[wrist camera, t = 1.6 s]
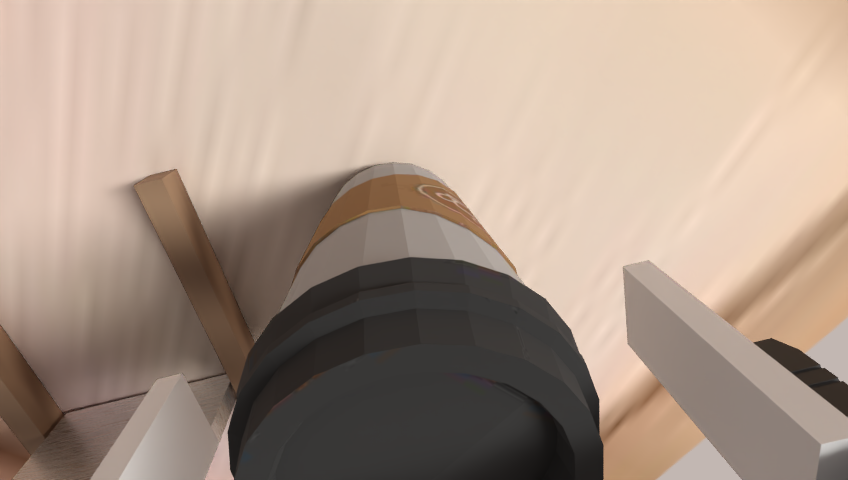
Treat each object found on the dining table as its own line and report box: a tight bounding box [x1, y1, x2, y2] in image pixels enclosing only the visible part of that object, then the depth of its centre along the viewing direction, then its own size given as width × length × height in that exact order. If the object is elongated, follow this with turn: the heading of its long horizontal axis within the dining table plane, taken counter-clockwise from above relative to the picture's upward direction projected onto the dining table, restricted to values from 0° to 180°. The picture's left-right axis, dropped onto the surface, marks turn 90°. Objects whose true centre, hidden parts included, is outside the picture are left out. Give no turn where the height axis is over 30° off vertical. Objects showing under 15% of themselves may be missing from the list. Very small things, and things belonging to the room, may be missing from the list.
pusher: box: [12, 374, 237, 480], centre depth 23 cm, size 4×9×6 cm, turn 102°
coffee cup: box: [228, 162, 603, 480], centre depth 16 cm, size 8×8×15 cm
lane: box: [0, 169, 255, 456], centre depth 22 cm, size 20×12×6 cm, turn 12°
